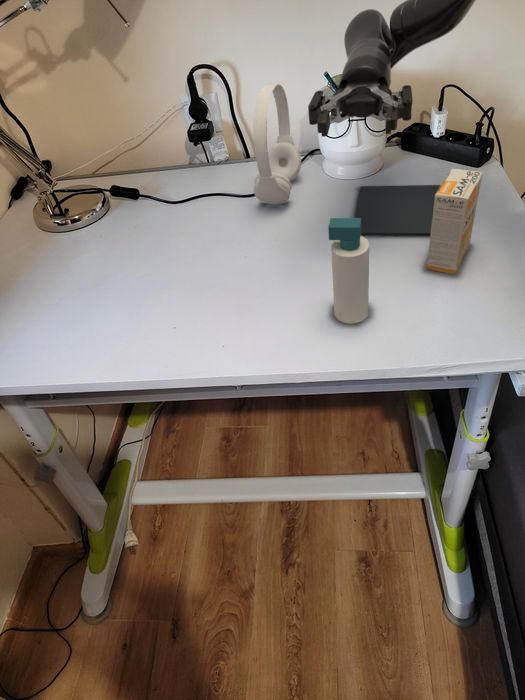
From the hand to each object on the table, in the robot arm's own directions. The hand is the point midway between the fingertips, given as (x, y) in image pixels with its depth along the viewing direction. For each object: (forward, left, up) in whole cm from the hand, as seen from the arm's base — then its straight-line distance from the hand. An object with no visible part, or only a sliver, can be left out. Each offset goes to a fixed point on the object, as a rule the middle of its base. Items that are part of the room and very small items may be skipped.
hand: (355, 128), depth 68 cm
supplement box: (-14, -2, -23) cm, 27 cm away
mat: (-6, -16, -22) cm, 28 cm away
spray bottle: (0, +12, -22) cm, 25 cm away
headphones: (+18, -23, -23) cm, 37 cm away
